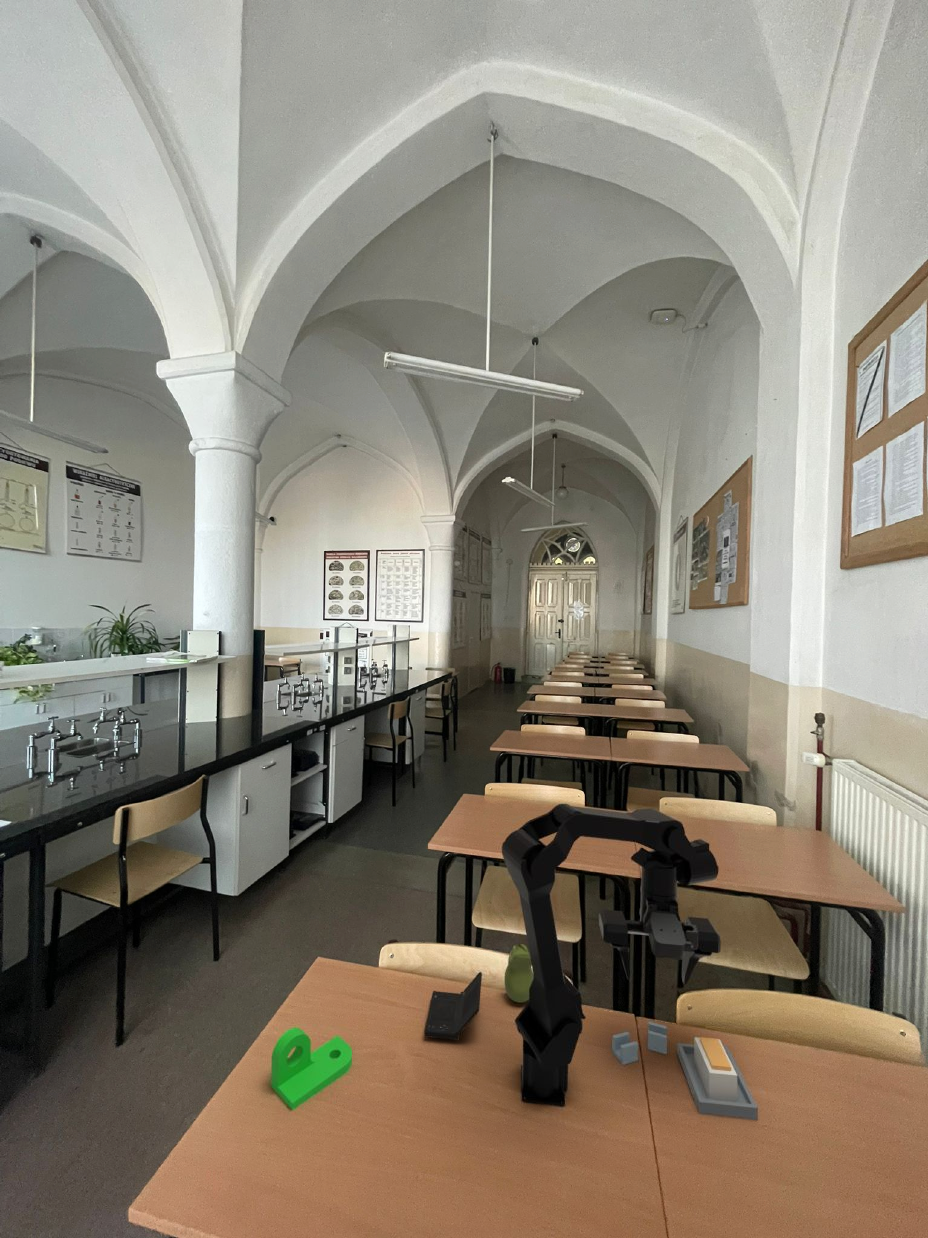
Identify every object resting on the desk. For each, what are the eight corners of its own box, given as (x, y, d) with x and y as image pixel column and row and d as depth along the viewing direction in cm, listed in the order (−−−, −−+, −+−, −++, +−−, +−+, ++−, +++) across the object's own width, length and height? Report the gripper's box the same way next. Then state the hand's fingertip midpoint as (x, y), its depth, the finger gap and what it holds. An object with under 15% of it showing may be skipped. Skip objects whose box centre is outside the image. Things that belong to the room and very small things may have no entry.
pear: (529, 988, 107) (530, 937, 107) (536, 1008, 101) (538, 954, 101) (501, 990, 106) (503, 939, 106) (507, 1010, 101) (508, 956, 101)
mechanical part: (291, 1117, 78) (293, 1062, 78) (270, 1092, 82) (272, 1040, 82) (359, 1067, 87) (360, 1018, 87) (337, 1047, 91) (338, 999, 91)
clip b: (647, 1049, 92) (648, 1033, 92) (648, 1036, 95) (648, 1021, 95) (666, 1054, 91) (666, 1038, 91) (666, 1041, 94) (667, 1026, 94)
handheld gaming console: (421, 987, 103) (456, 948, 103) (450, 1008, 104) (485, 970, 104) (421, 1040, 92) (459, 997, 91) (453, 1064, 93) (491, 1021, 92)
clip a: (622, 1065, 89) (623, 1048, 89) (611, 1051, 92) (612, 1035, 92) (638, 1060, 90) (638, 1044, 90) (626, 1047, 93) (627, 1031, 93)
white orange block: (709, 1099, 82) (709, 1069, 82) (693, 1061, 89) (694, 1033, 89) (736, 1102, 82) (737, 1071, 82) (719, 1064, 89) (719, 1036, 89)
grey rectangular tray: (699, 1114, 80) (699, 1102, 80) (677, 1053, 91) (677, 1043, 91) (757, 1120, 80) (757, 1108, 80) (727, 1058, 91) (728, 1048, 91)
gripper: (609, 908, 85) (606, 1008, 85) (735, 919, 83) (732, 1021, 83) (599, 875, 96) (597, 963, 96) (710, 884, 94) (707, 974, 94)
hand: (656, 980), depth 92 cm, fingers open, 9 cm apart
